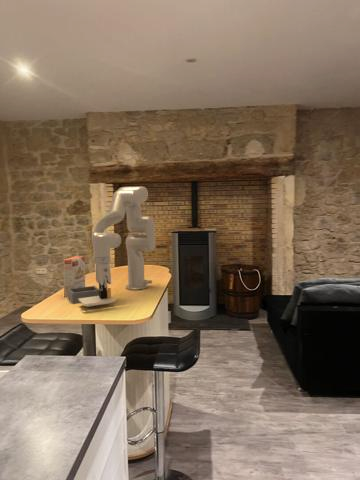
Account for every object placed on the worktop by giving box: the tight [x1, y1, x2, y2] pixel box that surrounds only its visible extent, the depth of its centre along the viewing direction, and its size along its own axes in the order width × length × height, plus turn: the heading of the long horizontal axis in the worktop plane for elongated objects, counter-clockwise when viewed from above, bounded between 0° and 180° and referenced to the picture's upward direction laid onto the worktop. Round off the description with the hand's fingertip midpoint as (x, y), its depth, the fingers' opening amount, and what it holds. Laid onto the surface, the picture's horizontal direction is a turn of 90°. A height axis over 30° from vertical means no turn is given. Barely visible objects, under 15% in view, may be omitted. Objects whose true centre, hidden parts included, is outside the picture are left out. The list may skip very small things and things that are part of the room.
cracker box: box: [62, 255, 86, 298], centre depth 192 cm, size 14×6×21 cm, turn 168°
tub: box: [67, 285, 99, 305], centre depth 181 cm, size 14×11×6 cm
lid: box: [78, 287, 116, 308], centre depth 168 cm, size 15×12×6 cm
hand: (103, 297), depth 170 cm, fingers closed on lid, 1 cm apart
